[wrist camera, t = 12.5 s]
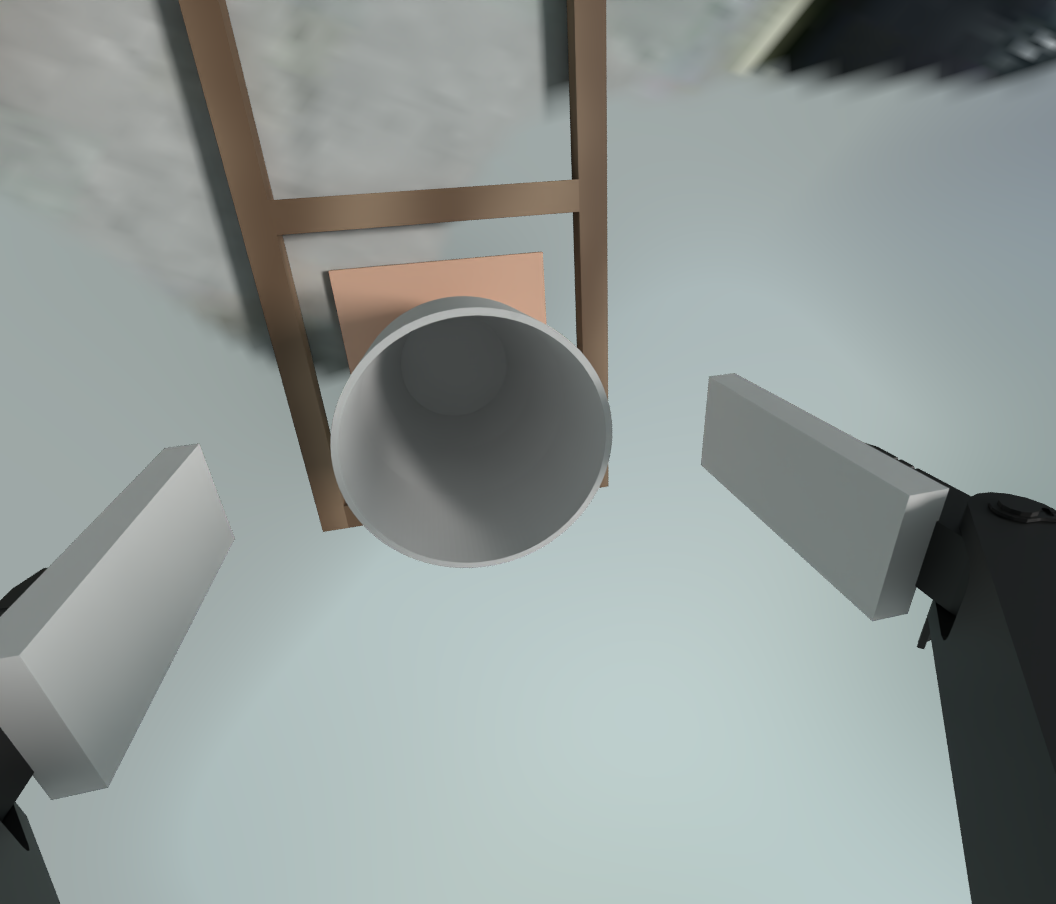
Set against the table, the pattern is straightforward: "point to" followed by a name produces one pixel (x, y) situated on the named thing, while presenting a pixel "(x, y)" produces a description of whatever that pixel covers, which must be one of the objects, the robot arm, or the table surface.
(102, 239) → the table surface
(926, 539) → the robot arm
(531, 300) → the pad
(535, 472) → the cup
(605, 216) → the brown wooden divided frame
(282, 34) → the table surface
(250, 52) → the table surface
